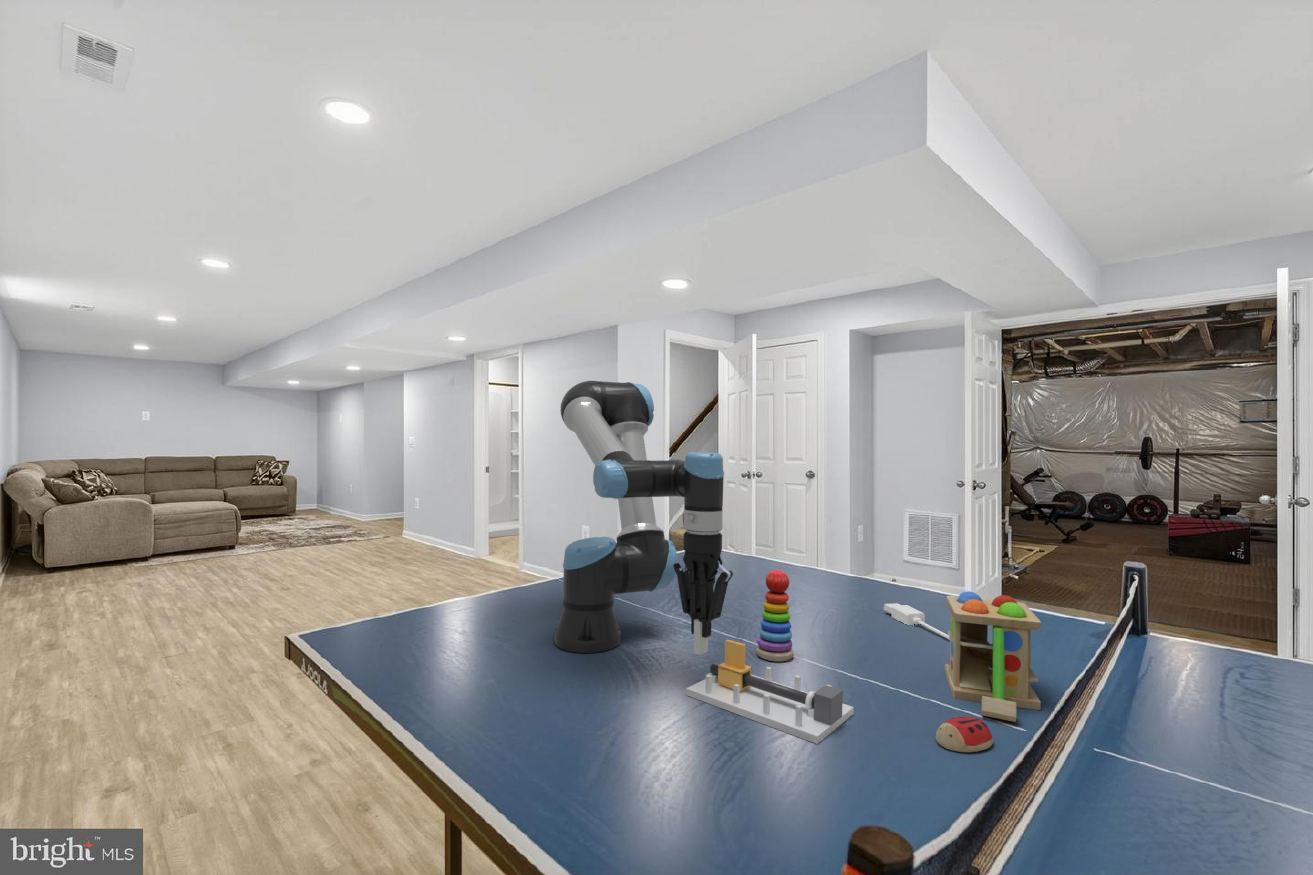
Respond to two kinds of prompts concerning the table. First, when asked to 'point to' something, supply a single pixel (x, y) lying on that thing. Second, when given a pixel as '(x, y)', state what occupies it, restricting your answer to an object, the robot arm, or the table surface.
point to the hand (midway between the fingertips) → (700, 652)
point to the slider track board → (777, 704)
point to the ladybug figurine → (964, 735)
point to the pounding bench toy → (992, 654)
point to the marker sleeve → (733, 665)
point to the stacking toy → (776, 620)
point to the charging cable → (909, 616)
